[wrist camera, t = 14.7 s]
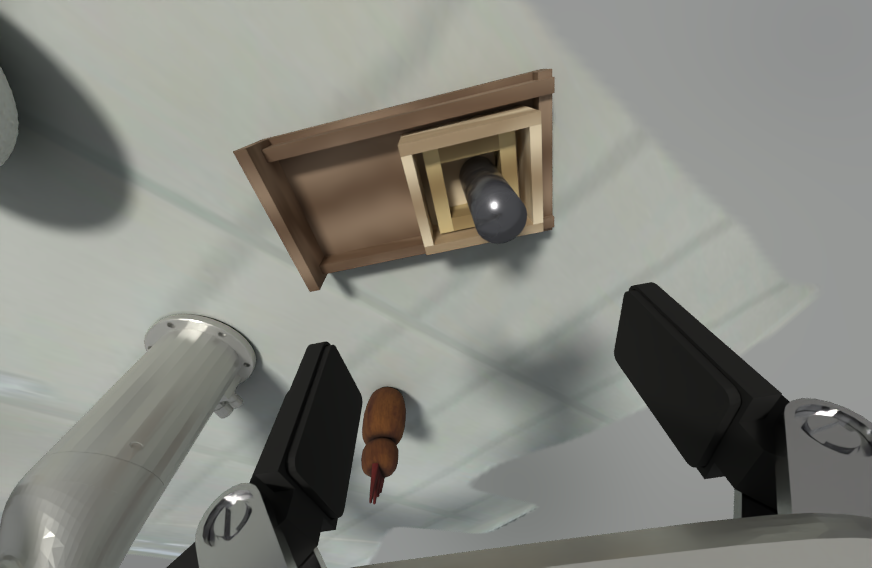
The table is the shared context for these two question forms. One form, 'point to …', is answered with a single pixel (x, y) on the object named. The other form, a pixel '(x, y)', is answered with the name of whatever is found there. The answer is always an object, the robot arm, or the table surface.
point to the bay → (371, 176)
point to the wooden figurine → (382, 436)
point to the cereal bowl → (7, 119)
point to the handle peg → (491, 201)
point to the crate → (443, 158)
